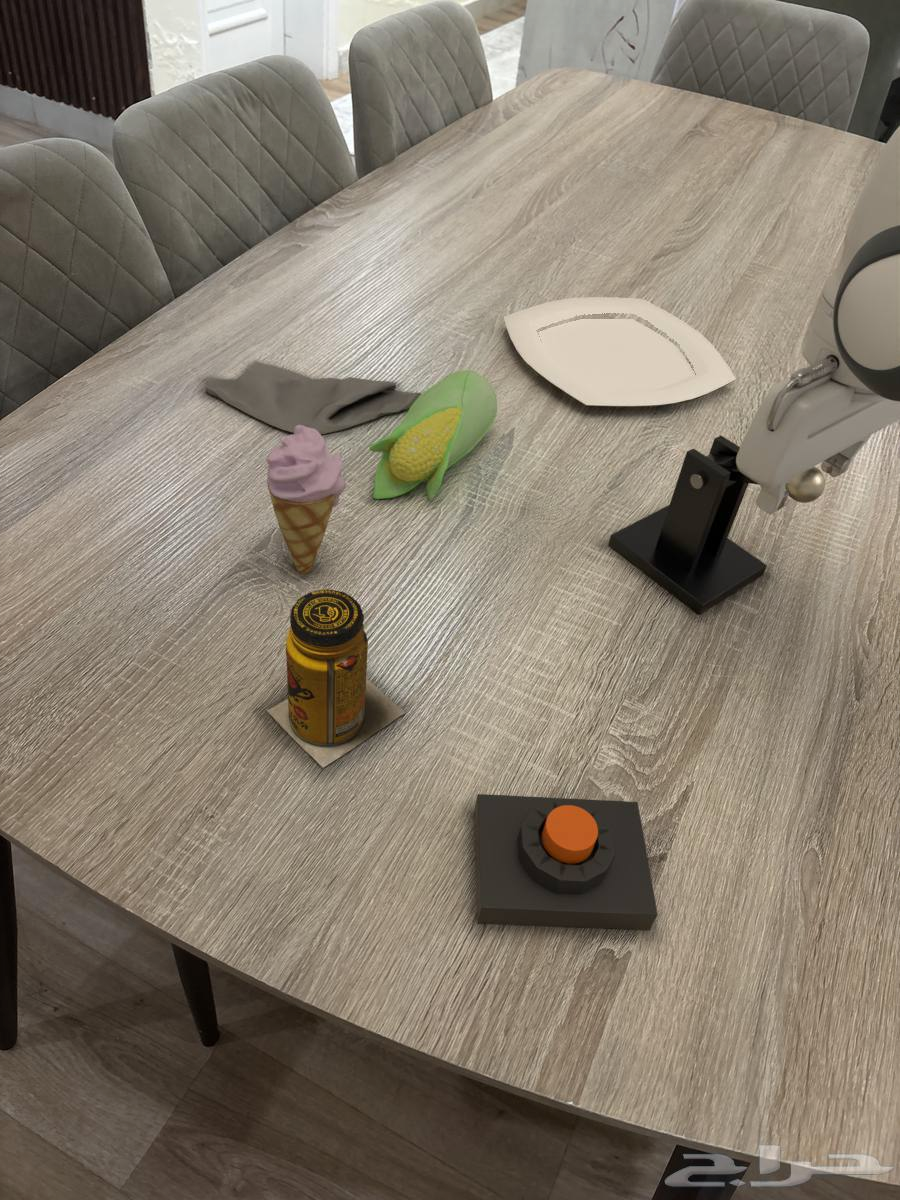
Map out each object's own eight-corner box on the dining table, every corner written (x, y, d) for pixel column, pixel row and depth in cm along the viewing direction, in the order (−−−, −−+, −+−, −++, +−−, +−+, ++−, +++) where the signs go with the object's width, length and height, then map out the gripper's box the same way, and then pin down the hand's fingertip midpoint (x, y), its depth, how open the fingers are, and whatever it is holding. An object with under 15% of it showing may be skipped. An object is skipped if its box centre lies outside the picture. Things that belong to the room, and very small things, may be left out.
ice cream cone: (334, 543, 91) (337, 410, 80) (350, 586, 87) (355, 451, 76) (265, 552, 89) (258, 417, 78) (278, 597, 85) (273, 460, 74)
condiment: (266, 712, 75) (259, 605, 67) (348, 663, 80) (351, 557, 72) (322, 770, 72) (323, 664, 63) (405, 715, 76) (415, 610, 68)
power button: (589, 819, 67) (594, 805, 65) (596, 865, 64) (601, 851, 63) (539, 817, 66) (543, 803, 65) (543, 863, 64) (548, 849, 62)
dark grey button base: (631, 818, 71) (643, 787, 68) (649, 930, 65) (664, 901, 62) (473, 810, 70) (480, 779, 68) (477, 923, 64) (484, 894, 61)
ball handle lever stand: (763, 575, 93) (809, 471, 85) (699, 615, 88) (741, 508, 79) (672, 511, 100) (706, 408, 91) (607, 545, 94) (637, 439, 86)
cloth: (183, 417, 103) (181, 400, 102) (224, 356, 113) (223, 339, 112) (416, 457, 102) (417, 439, 101) (436, 392, 112) (438, 375, 111)
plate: (576, 433, 109) (579, 419, 107) (476, 322, 126) (478, 309, 124) (759, 399, 118) (764, 385, 117) (644, 300, 135) (647, 288, 134)
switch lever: (833, 497, 80) (832, 461, 78) (811, 510, 78) (810, 474, 77) (716, 480, 89) (714, 447, 88) (694, 491, 87) (692, 458, 86)
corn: (528, 397, 104) (444, 491, 91) (484, 433, 110) (399, 526, 97) (478, 340, 102) (386, 428, 89) (436, 379, 108) (344, 467, 95)
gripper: (823, 400, 63) (757, 553, 73) (970, 327, 74) (895, 470, 83) (749, 358, 67) (695, 510, 76) (900, 294, 77) (836, 435, 87)
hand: (801, 489), depth 80 cm, fingers open, 8 cm apart
